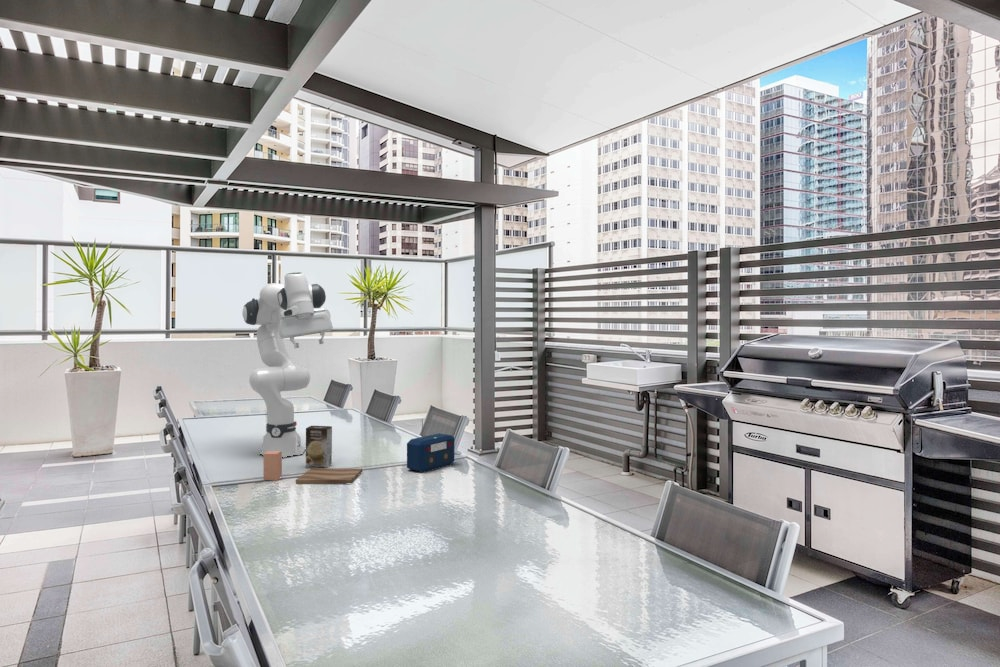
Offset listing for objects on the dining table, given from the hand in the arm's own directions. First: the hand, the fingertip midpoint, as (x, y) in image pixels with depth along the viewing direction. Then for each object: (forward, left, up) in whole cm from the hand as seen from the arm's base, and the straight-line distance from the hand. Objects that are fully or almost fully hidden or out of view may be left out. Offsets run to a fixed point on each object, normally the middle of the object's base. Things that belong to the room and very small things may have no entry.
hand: (309, 345), depth 249 cm
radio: (-9, +46, -50) cm, 68 cm away
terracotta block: (+11, -11, -49) cm, 52 cm away
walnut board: (+9, +10, -49) cm, 51 cm away
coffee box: (-10, 0, -50) cm, 51 cm away
